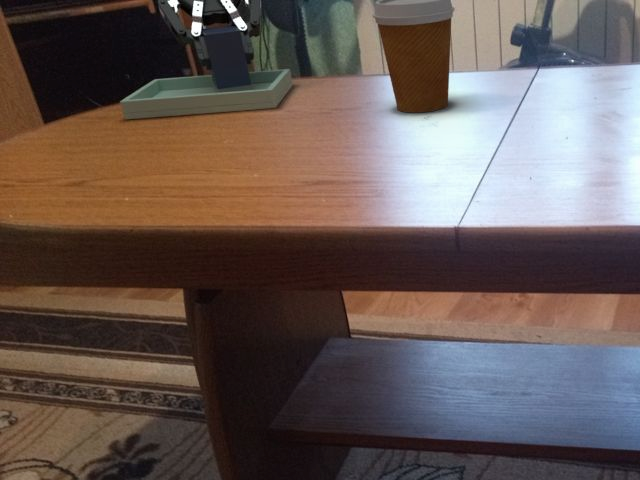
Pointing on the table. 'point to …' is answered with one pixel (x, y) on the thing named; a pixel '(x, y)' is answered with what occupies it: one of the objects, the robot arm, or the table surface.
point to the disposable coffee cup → (417, 51)
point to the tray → (205, 96)
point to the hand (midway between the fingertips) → (228, 62)
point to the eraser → (227, 59)
